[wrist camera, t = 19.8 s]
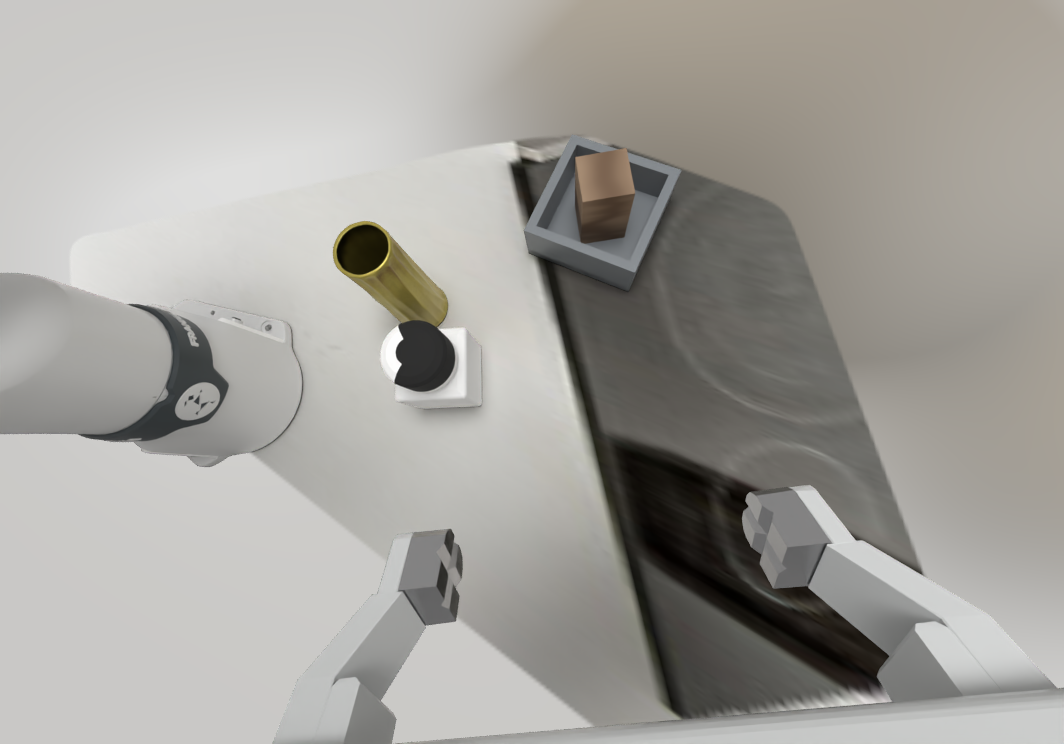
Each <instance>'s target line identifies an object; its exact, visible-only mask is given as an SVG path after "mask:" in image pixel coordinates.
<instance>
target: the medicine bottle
mask: <svg viewBox="0 0 1064 744" xmlns="http://www.w3.org/2000/svg"><path fill="white" fill-rule="evenodd" d="M380 363H381V367H382V370H383V372H384V374H385V375H386V376H387V378H388V379H389V380H390V381H392V382H393V383H395V401H396V402H399V403H403V404H407V405H410V406H414V407H418V408H421V409H430V408H451V407H472V406H480V405H481V404H482V367H481V345H480V344H479V343H478V342H477V341H476V339H475V338H474V337H473V336H472V335H471V334H470V333H469V331H468V330H467V329H466V328H464V327H458V328H442V329H438V328H436V327H435V326H434V325H432V324H430V323H428V322H425V321H421V320H411V321H407V322H404V323H402V324H400V325H398V326H396V327H395V328H394V329H392V330H391V331H390V332H389V334H388V335H387V336H386V338H385V339H384V341H383V343H382V346H381V350H380Z"/></svg>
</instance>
